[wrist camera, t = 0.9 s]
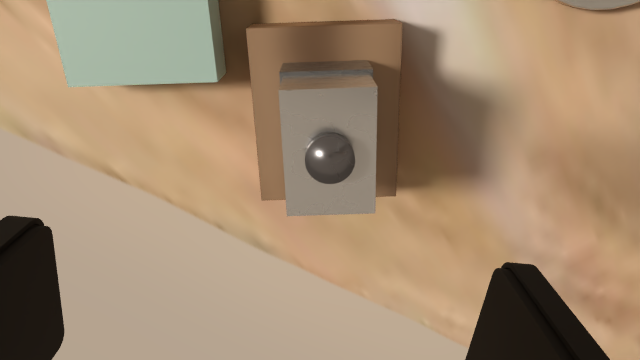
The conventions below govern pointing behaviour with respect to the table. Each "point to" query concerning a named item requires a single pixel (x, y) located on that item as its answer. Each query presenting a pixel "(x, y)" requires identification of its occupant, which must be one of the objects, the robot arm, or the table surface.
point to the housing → (328, 137)
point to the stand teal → (138, 41)
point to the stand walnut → (318, 46)
